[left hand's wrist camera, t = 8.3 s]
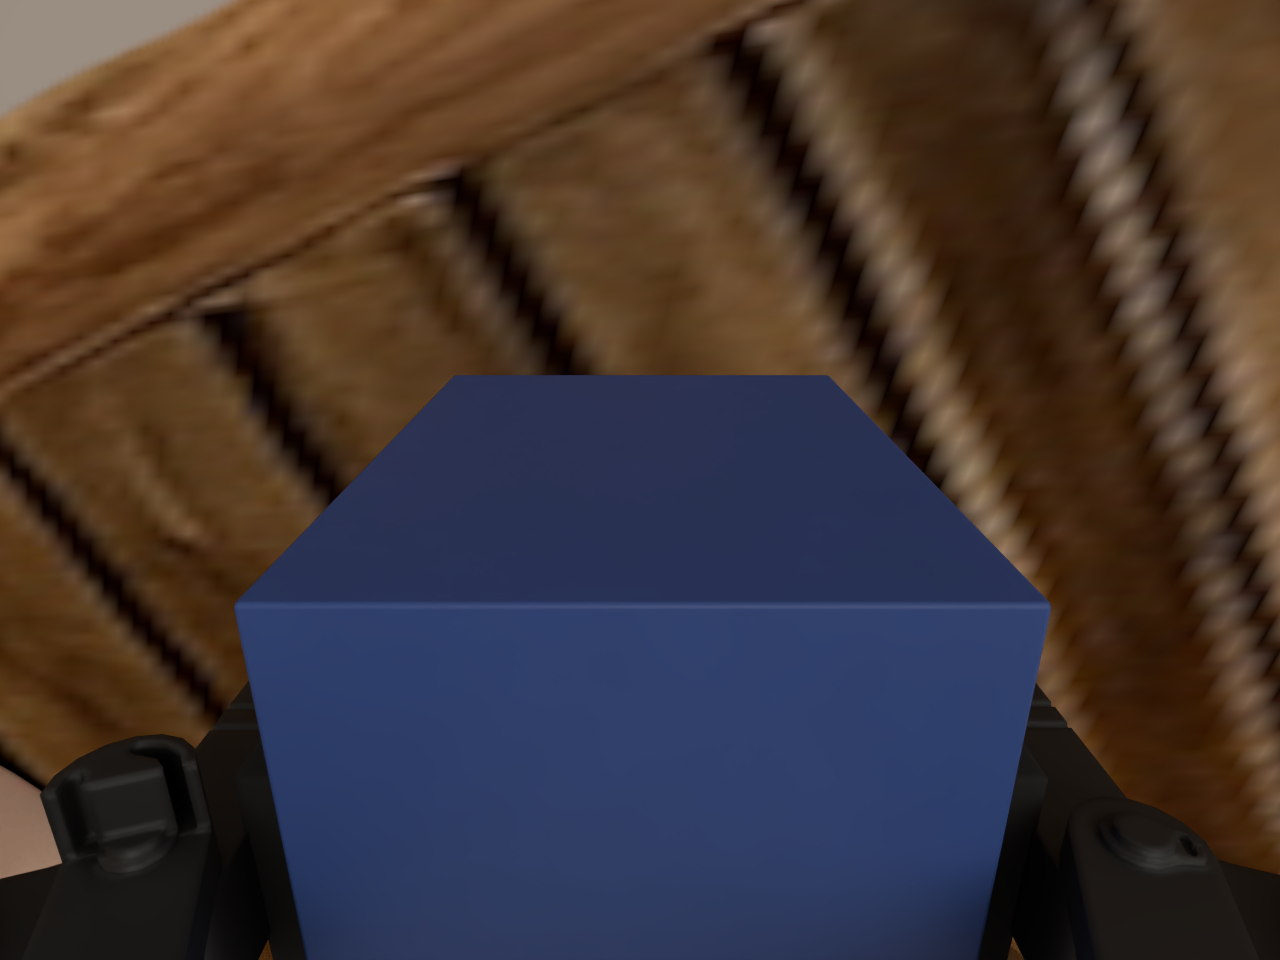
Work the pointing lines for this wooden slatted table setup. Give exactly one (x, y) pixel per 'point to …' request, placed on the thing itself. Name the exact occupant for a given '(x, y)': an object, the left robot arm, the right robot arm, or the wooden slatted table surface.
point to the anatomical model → (23, 828)
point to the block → (642, 683)
